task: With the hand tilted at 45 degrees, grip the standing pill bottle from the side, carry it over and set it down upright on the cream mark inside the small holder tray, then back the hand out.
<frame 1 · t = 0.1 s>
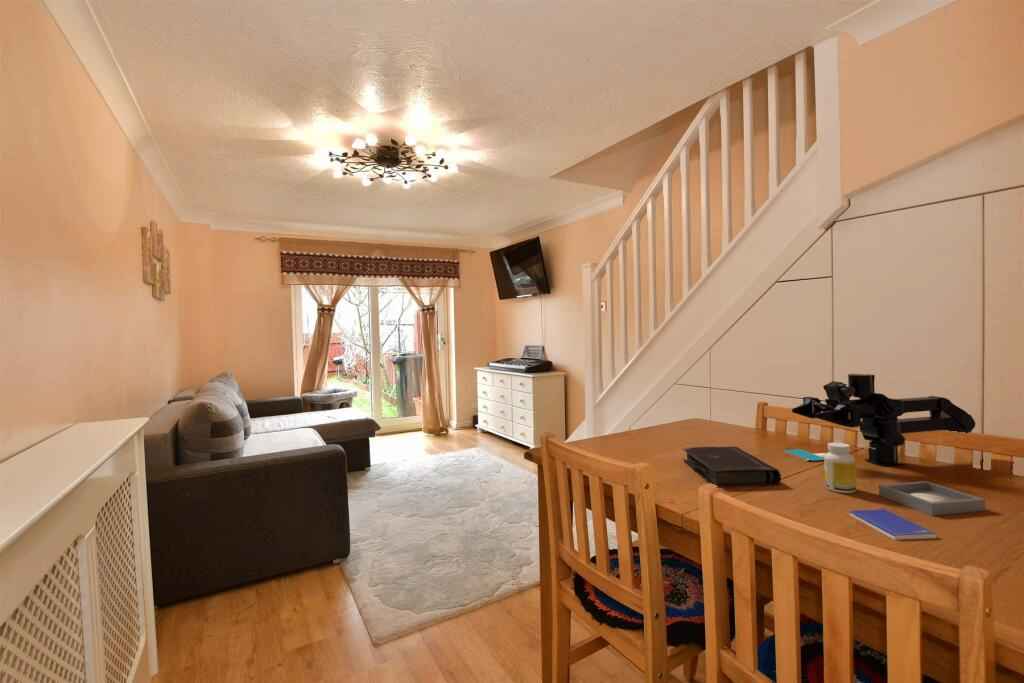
hand: (803, 413, 136), 17 cm above the table, tool horizontal, fingers open, 9 cm apart
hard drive: (890, 529, 97), on the table
holder tray: (929, 502, 108), on the table
pill bottle: (840, 490, 119), on the table
phone stand: (810, 458, 149), on the table
diary: (726, 474, 137), on the table
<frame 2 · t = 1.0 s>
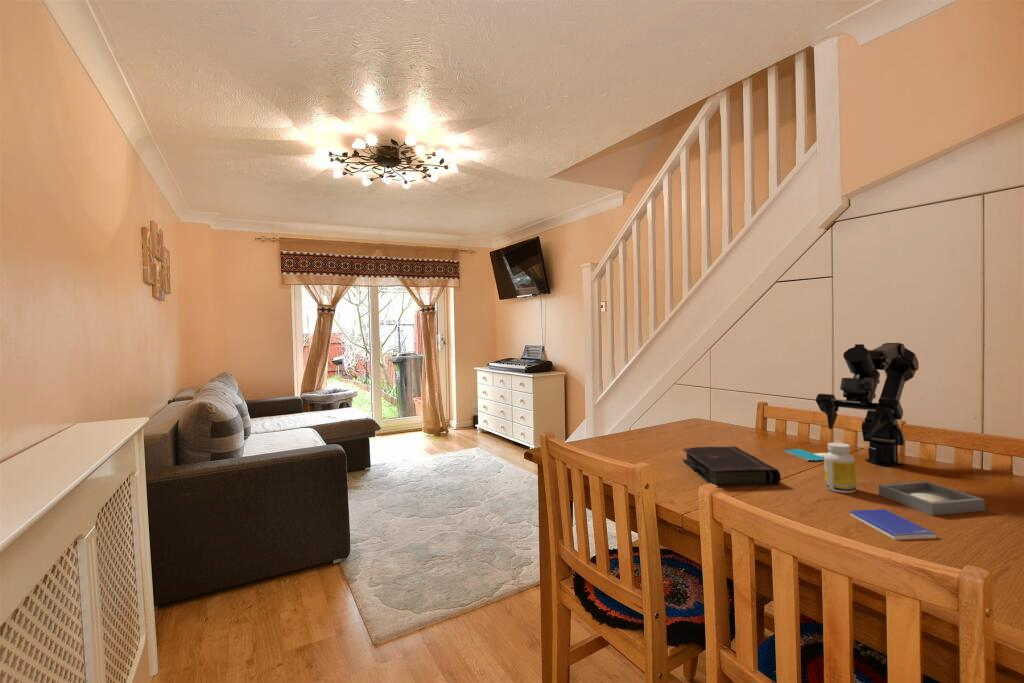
hand: (849, 430, 124), 14 cm above the table, tool tilted 45°, fingers open, 9 cm apart
nothing on the table moved.
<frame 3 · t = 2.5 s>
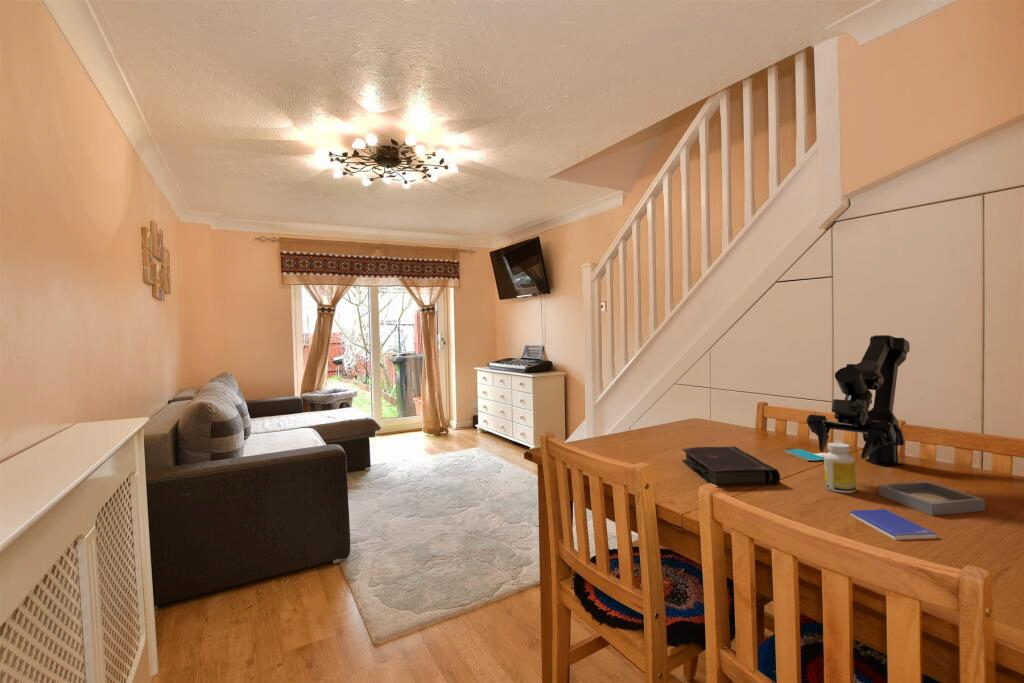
hand: (841, 454, 119), 9 cm above the table, tool tilted 45°, fingers open, 9 cm apart
nothing on the table moved.
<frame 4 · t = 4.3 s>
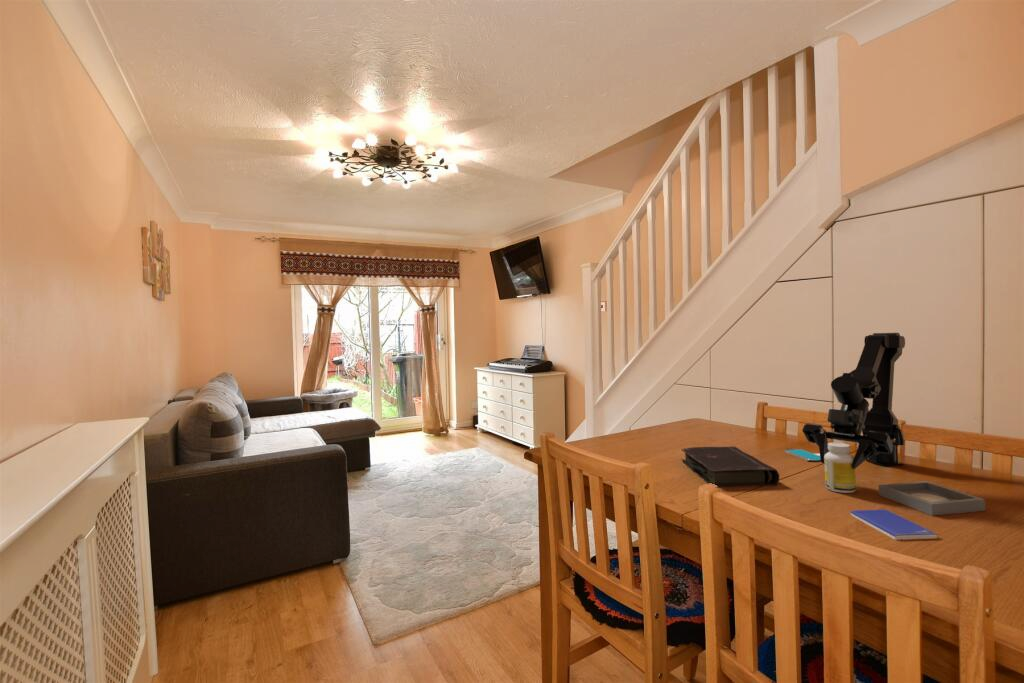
hand: (837, 465, 118), 7 cm above the table, tool tilted 45°, fingers closed on pill bottle, 6 cm apart
pill bottle: (840, 490, 119), on the table, touching gripper
everything else where it was.
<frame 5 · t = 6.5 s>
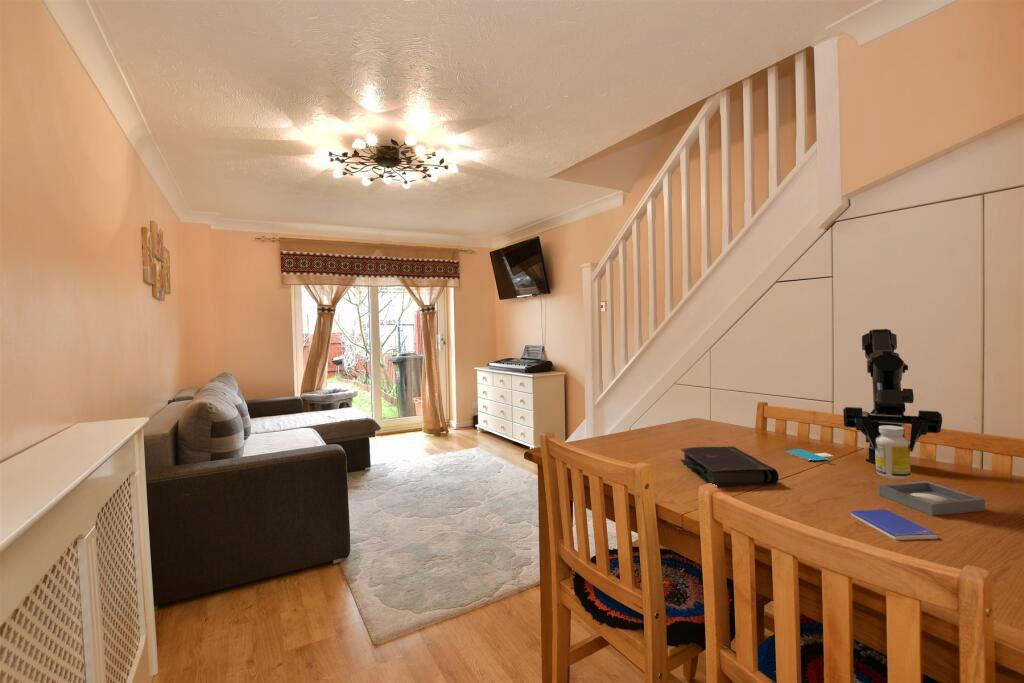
hand: (892, 449, 110), 12 cm above the table, tool tilted 45°, fingers closed on pill bottle, 6 cm apart
pill bottle: (892, 476, 112), point 5 cm above the table, touching gripper
everything else where it was.
when the fingers open (9 cm above the table, at t = 8.9 s): pill bottle stays where it is, resting on holder tray.
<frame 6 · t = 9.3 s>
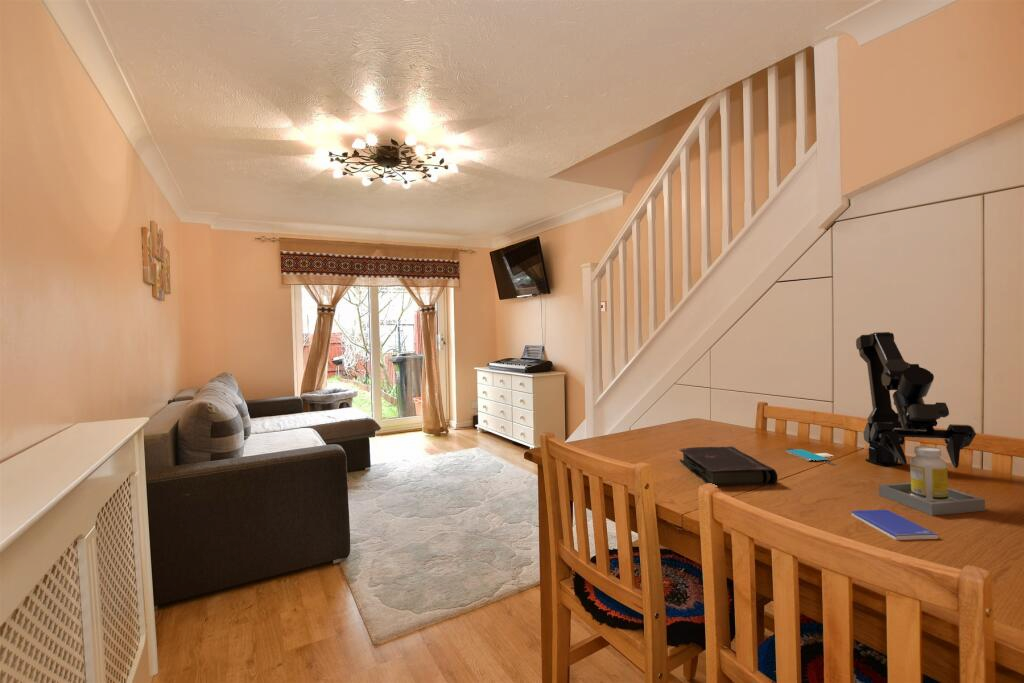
hand: (930, 465, 107), 9 cm above the table, tool tilted 45°, fingers open, 9 cm apart
pill bottle: (929, 498, 108), point 1 cm above the table, touching holder tray
everything else where it was.
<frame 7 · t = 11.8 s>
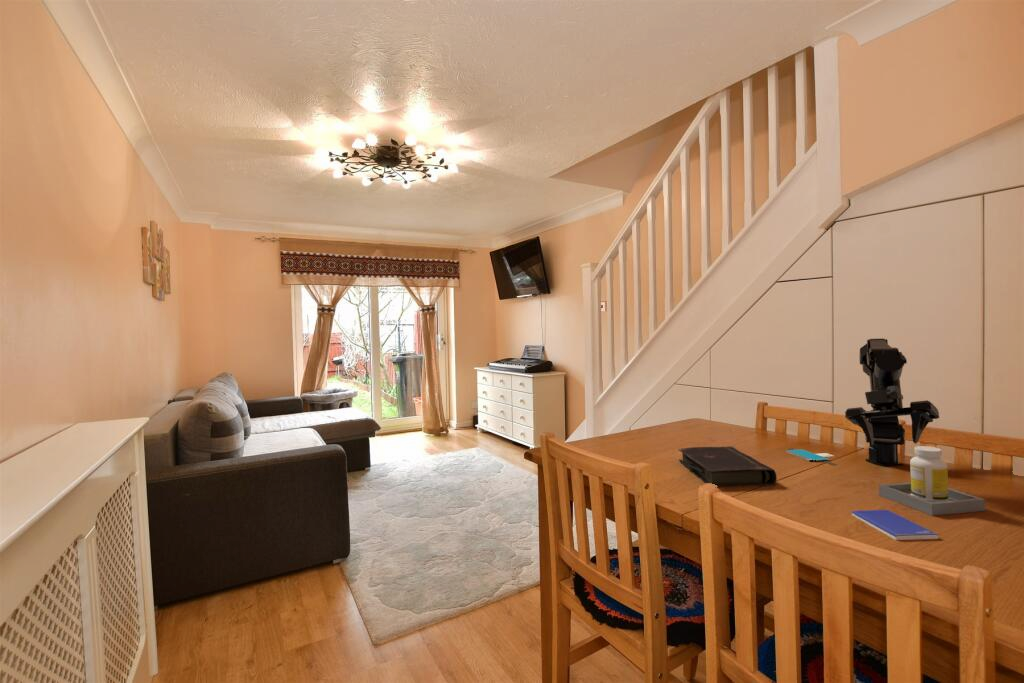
hand: (892, 444, 119), 11 cm above the table, tool tilted 35°, fingers open, 9 cm apart
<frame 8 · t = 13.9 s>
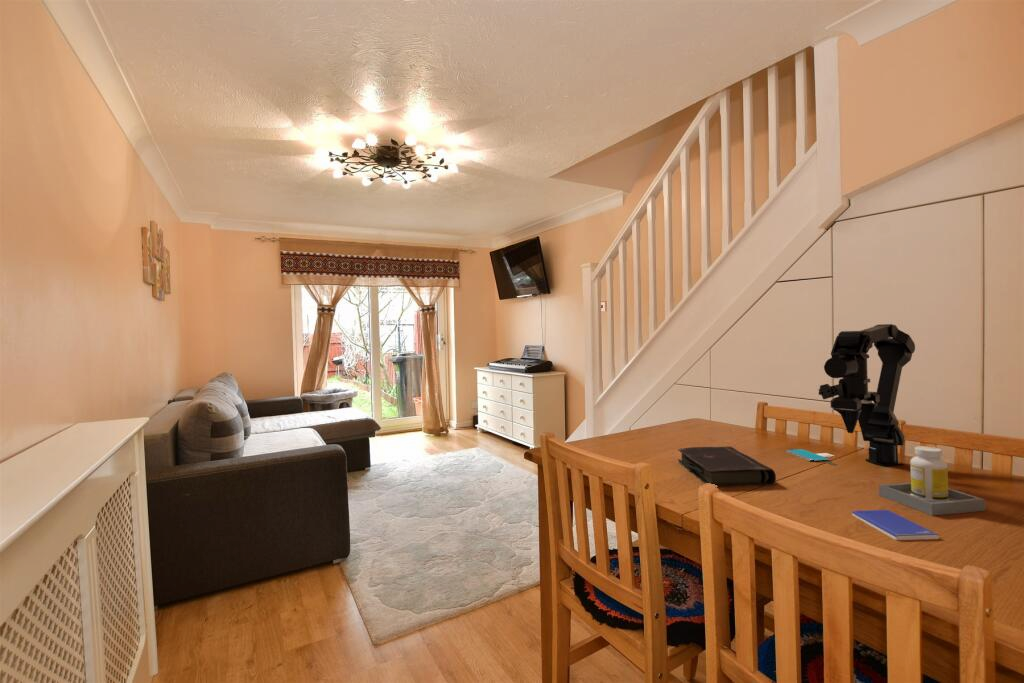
hand: (856, 430, 131), 12 cm above the table, tool pointing down, fingers open, 9 cm apart
at the end: pill bottle inside the target area on the holder tray (0.2 cm from its centre), point 0.8 cm above the holder tray's base; pill bottle tilted 1°; the gripper is holding nothing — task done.
